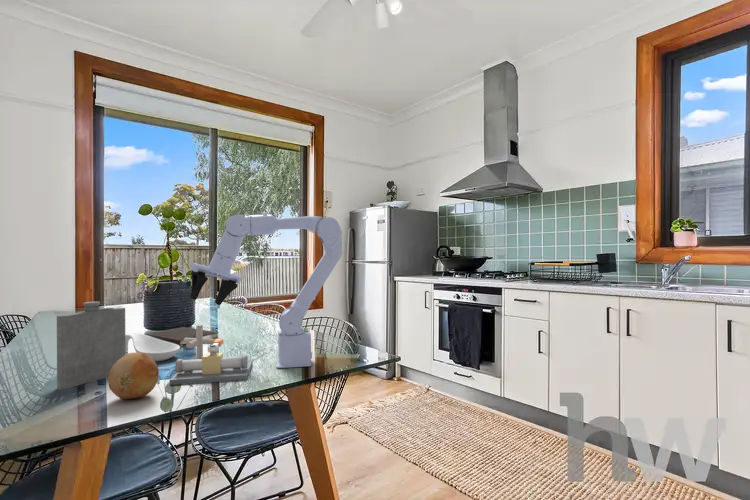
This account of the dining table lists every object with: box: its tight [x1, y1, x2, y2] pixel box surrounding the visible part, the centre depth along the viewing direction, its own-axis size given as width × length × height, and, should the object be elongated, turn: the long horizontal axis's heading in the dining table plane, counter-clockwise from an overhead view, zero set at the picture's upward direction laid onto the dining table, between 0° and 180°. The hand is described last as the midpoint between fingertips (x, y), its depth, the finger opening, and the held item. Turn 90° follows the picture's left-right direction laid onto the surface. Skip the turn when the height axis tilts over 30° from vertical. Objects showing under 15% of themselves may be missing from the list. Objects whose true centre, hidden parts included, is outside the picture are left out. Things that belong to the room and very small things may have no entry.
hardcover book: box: [144, 326, 219, 346], centre depth 154 cm, size 16×23×2 cm
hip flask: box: [56, 301, 127, 391], centre depth 103 cm, size 16×4×20 cm, turn 154°
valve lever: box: [207, 337, 224, 353], centre depth 109 cm, size 11×2×2 cm, turn 11°
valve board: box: [169, 352, 254, 386], centre depth 107 cm, size 18×14×6 cm
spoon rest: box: [125, 332, 181, 363], centre depth 125 cm, size 24×12×7 cm, turn 68°
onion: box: [107, 352, 160, 400], centre depth 89 cm, size 10×10×10 cm
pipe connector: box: [183, 324, 216, 359], centre depth 124 cm, size 10×10×10 cm
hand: (205, 301), depth 111 cm, fingers open, 7 cm apart
